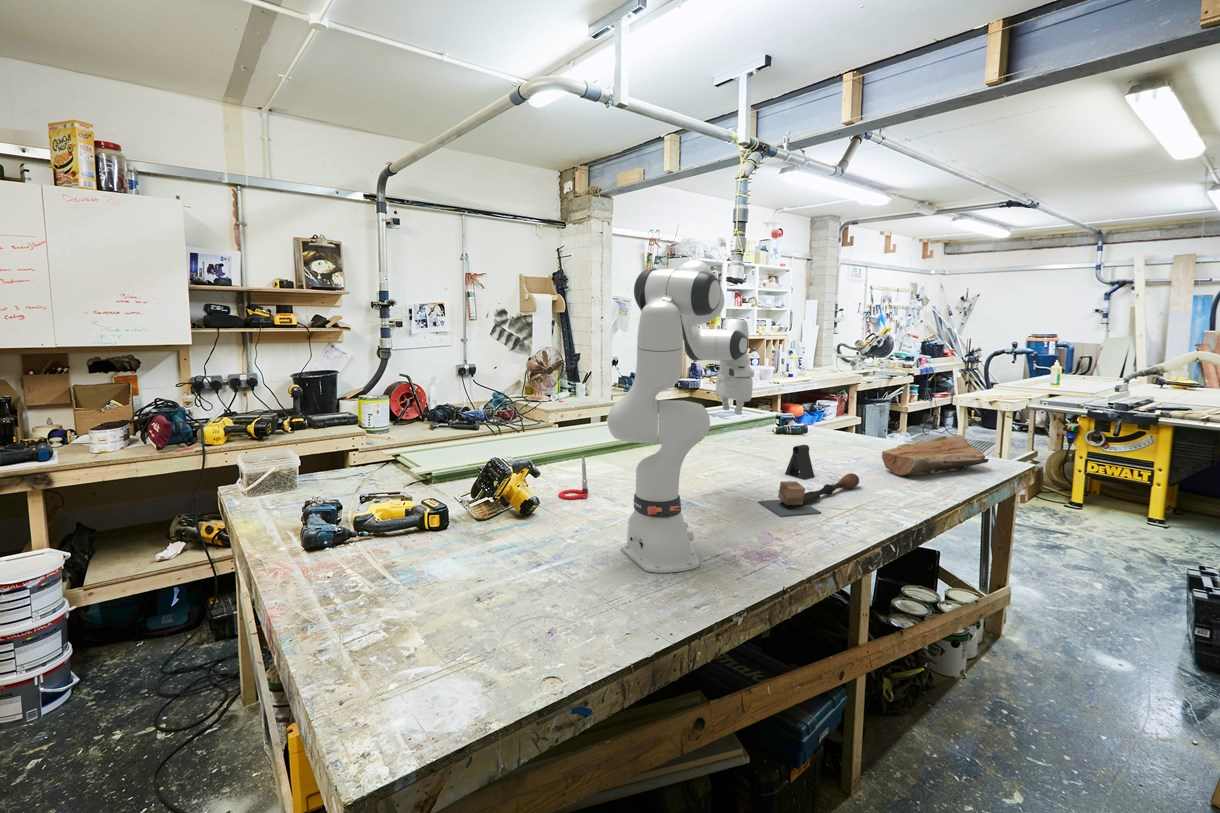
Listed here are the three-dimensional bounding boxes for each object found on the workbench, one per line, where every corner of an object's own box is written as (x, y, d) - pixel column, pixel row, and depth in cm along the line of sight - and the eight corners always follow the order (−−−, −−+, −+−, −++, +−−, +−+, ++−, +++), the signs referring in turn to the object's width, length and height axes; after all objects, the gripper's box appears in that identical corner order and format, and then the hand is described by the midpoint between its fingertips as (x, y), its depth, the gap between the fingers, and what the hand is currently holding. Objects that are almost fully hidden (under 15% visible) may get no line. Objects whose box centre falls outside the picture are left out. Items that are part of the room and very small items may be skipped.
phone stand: (814, 477, 215) (816, 446, 214) (804, 480, 212) (806, 448, 210) (795, 472, 223) (796, 442, 221) (784, 474, 220) (786, 444, 218)
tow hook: (556, 501, 187) (586, 500, 187) (554, 460, 185) (584, 459, 185) (560, 493, 196) (589, 492, 196) (558, 454, 194) (587, 453, 194)
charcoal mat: (821, 513, 175) (821, 512, 175) (780, 517, 172) (780, 515, 172) (796, 499, 189) (796, 498, 189) (758, 502, 185) (758, 501, 185)
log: (959, 461, 239) (956, 427, 237) (999, 468, 223) (995, 431, 221) (880, 485, 227) (876, 450, 225) (916, 495, 211) (912, 456, 209)
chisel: (861, 487, 203) (863, 474, 202) (791, 514, 177) (793, 500, 176) (848, 483, 207) (850, 470, 206) (777, 509, 181) (779, 494, 179)
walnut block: (802, 504, 178) (805, 488, 177) (786, 504, 177) (789, 488, 175) (793, 497, 183) (796, 481, 182) (777, 497, 182) (780, 481, 180)
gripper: (711, 367, 192) (710, 407, 193) (737, 372, 172) (735, 417, 174) (729, 367, 193) (727, 407, 195) (756, 371, 173) (754, 416, 175)
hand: (731, 412), depth 184 cm, fingers open, 8 cm apart
